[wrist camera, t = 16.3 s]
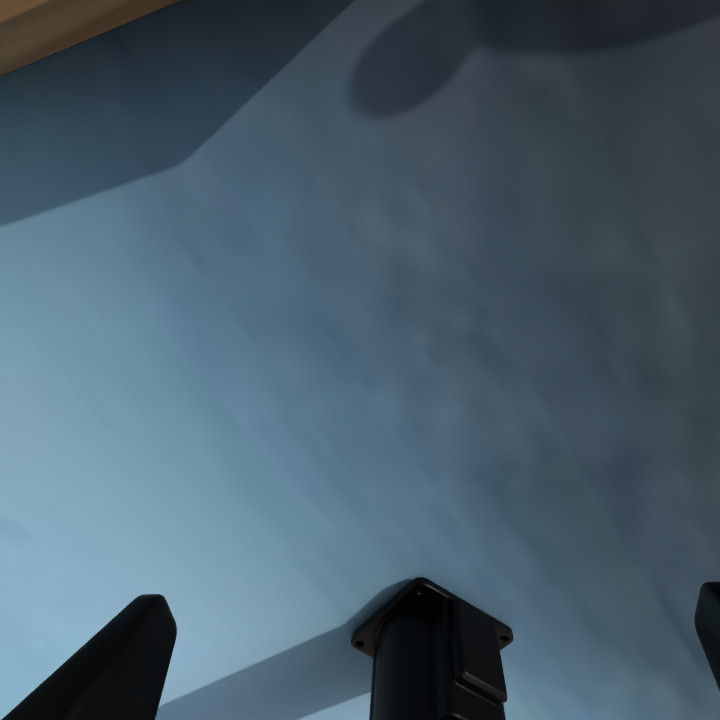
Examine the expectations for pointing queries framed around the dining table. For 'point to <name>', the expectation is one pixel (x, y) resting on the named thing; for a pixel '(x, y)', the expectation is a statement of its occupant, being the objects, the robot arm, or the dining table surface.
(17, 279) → the dining table surface
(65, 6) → the tube rack
